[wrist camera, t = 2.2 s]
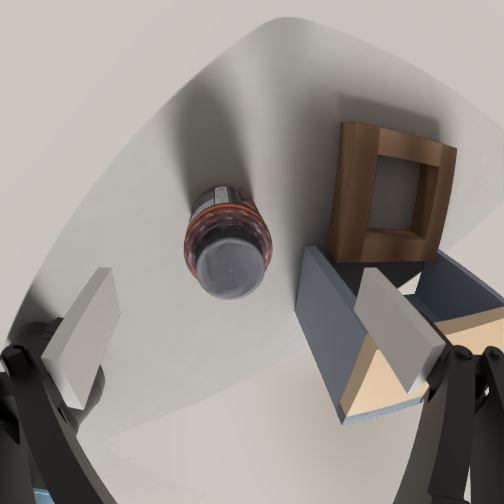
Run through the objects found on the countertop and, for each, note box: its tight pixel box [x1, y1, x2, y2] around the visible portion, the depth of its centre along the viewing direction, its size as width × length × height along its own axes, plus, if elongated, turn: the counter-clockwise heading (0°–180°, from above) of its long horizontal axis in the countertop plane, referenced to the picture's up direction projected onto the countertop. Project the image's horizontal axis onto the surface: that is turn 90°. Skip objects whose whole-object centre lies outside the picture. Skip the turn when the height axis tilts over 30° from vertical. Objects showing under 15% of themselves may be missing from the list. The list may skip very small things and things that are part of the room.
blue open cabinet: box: [295, 246, 504, 425], centre depth 25 cm, size 18×8×16 cm, turn 87°
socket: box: [327, 122, 457, 263], centre depth 26 cm, size 13×13×3 cm
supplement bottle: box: [184, 186, 273, 300], centre depth 22 cm, size 6×6×11 cm
